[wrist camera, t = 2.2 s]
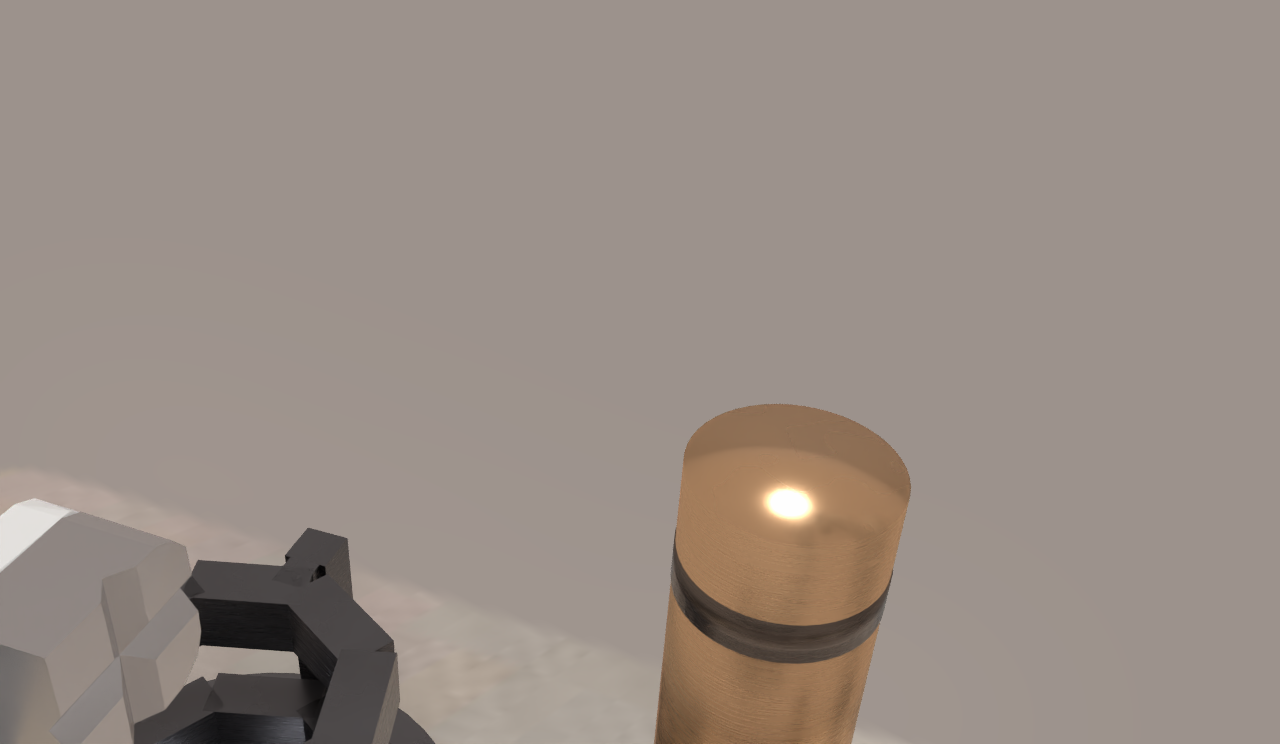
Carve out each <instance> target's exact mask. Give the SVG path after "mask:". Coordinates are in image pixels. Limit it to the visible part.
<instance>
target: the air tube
mask: <svg viewBox="0 0 1280 744" xmlns="http://www.w3.org/2000/svg"><path fill="white" fill-rule="evenodd" d="M910 489H911V484H910V478H909V474H908V471H907V468H906V467H905V465H904V463H903V461H902V459H901V458H900V457H899V455H898V454H897V453H896V451H895V450H894V449H893V448H892V447H891V446H890V445H889V444H888V443H887V442H886V441H884V440H883V439H882V438H881V437H879V436H878V435H877V434H875V433H874V432H872V431H871V430H869V429H868V428H866V427H864V426H862V425H860V424H859V423H856V422H855V421H852V420H850V419H848V418H845V417H843V416H840V415H837V414H834V413H831V412H828V411H824V410H820V409H816V408H810V407H805V406H798V405H787V404H764V405H755V406H748V407H743V408H738V409H735V410H732V411H729V412H726V413H723V414H721V415H719V416H717V417H715V418H713V419H711V420H710V421H708V422H706V423H705V424H704V425H703V426H701V427H700V428H699V429H698V430H697V431H696V432H695V433H694V434H693V436H692V437H691V439H690V441H689V442H688V444H687V447H686V449H685V454H684V462H683V471H682V480H681V490H680V499H679V509H678V519H677V527H676V530H675V539H674V548H673V557H672V567H671V586H670V595H669V605H668V615H667V625H666V634H665V644H664V653H663V663H662V672H661V682H660V692H659V701H658V711H657V720H656V730H655V740H654V744H851V742H852V738H853V734H854V730H855V725H856V721H857V717H858V713H859V709H860V704H861V700H862V696H863V692H864V688H865V683H866V679H867V675H868V671H869V666H870V662H871V658H872V654H873V650H874V646H875V641H876V637H877V633H878V629H879V624H880V621H881V618H882V615H883V611H884V608H885V603H886V599H887V595H888V591H889V586H890V583H891V578H892V574H893V565H894V561H895V557H896V553H897V549H898V544H899V540H900V536H901V532H902V528H903V523H904V519H905V515H906V511H907V507H908V502H909V498H910V491H911V490H910Z"/></svg>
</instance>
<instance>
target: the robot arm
mask: <svg viewBox="0 0 1280 744" xmlns="http://www.w3.org/2000/svg"><path fill="white" fill-rule="evenodd" d="M191 575H192V572H191V567H190V563H189V559H188V554H187V550H186V547H185V546H183V545H181V544H178V543H176V542H174V541H172V540H168V539H165V538H162V537H159V536H156V535H153V534H149V533H146V532H143V531H140V530H137V529H134V528H130V527H127V526H124V525H121V524H118V523H115V522H112V521H108V520H105V519H102V518H99V517H96V516H93V515H89V514H86V513H83V512H78V511H75V510H72V509H68V508H65V507H62V506H59V505H55V504H52V503H49V502H46V501H42V500H39V499H36V498H34V499H30V500H27V501H24V502H20V503H17V504H14V505H13V506H12V507H11V508H9V509H8V510H7V511H6V512H5V513H3V514H2V515H1V516H0V744H134V724H135V723H137V722H139V721H141V720H144V719H146V718H148V717H150V716H152V715H155V714H157V713H159V712H161V711H164V710H165V709H166V708H167V707H168V706H169V704H170V703H171V702H172V701H173V699H174V698H175V697H176V696H177V694H178V693H179V692H180V691H181V689H182V688H183V687H184V685H185V683H186V681H187V679H188V677H189V674H190V672H191V670H192V668H193V665H194V663H195V661H196V659H197V656H198V652H199V644H200V636H201V626H200V620H199V613H198V610H197V609H196V607H195V606H194V605H193V604H192V602H191V601H190V600H189V598H188V597H187V596H186V595H185V593H184V592H183V591H182V590H181V587H182V585H183V584H184V583H185V582H186V581H187V580H188V579H189V577H190V576H191Z"/></svg>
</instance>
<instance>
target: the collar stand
mask: <svg viewBox="0 0 1280 744" xmlns="http://www.w3.org/2000/svg"><path fill="white" fill-rule="evenodd" d="M285 559H286V563H285V564H284V566H272V565H258V564H245V563H231V562H217V561H203V560H198V561H197V563H196V565H195V567H194V569H193V571H192V575H191V576H190V577H189V579H188V580H187V581H186V582H185V583H184V584H183V585H182V587H181V590H182V591H183V592H184V593H185V595H186V596H187V597H188V598H189V600H190V601H191V602H192V604H193V605H194V606H195V607H196V609H197V610H198V613H199V620H200V626H201V636H200V644H199V646H201V645H206V646H220V647H234V648H248V649H262V650H275V651H289V652H294V653H295V654H296V655H297V656H298V660H299V667H300V674H295V673H261V674H247V675H238V674H225V673H218V676H217V678H216V679H214V680H210V681H206V680H205V679H204V677H201V678H199V679H197V680H195V681H193V682H191V683H189V684H187V685H185V686H184V687H183V688H182V689H181V691H180V692H179V693H178V694H177V696H176V697H175V698H174V699H173V701H172V702H171V703H170V704H169V706H168V707H167V708H166V709H165V710H164V711H161V712H159V713H157V714H155V715H152V716H150V717H148V718H146V719H144V720H141V721H139V722H137V723H135V724H134V744H435V743H434V741H433V740H432V739H431V738H430V736H429V735H428V734H427V733H426V732H425V730H424V729H423V728H422V727H421V726H420V725H418V724H417V723H416V722H415V721H414V720H413V719H412V718H411V717H410V716H409V715H408V714H406V713H405V712H403V711H402V710H400V709H399V708H398V707H399V703H400V692H399V677H398V662H397V653H394V641H393V640H392V639H391V637H390V636H389V635H388V634H387V633H386V632H385V631H384V630H383V629H382V628H381V627H380V626H379V625H378V624H377V623H376V622H375V621H374V620H373V619H372V618H371V617H370V616H369V615H368V614H367V613H366V612H365V611H364V610H363V609H362V608H361V607H360V606H359V605H358V604H357V603H356V602H355V601H354V600H353V594H352V583H351V572H350V561H349V550H348V540H347V538H344V537H341V536H337V535H333V534H330V533H325V532H322V531H318V530H314V529H311V528H307V530H306V531H305V532H304V533H303V535H302V536H301V537H300V538H299V539H298V540H297V542H296V543H295V544H294V545H293V546H292V548H291V549H290V550H289V551H288V552H287V554H286V555H285Z"/></svg>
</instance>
